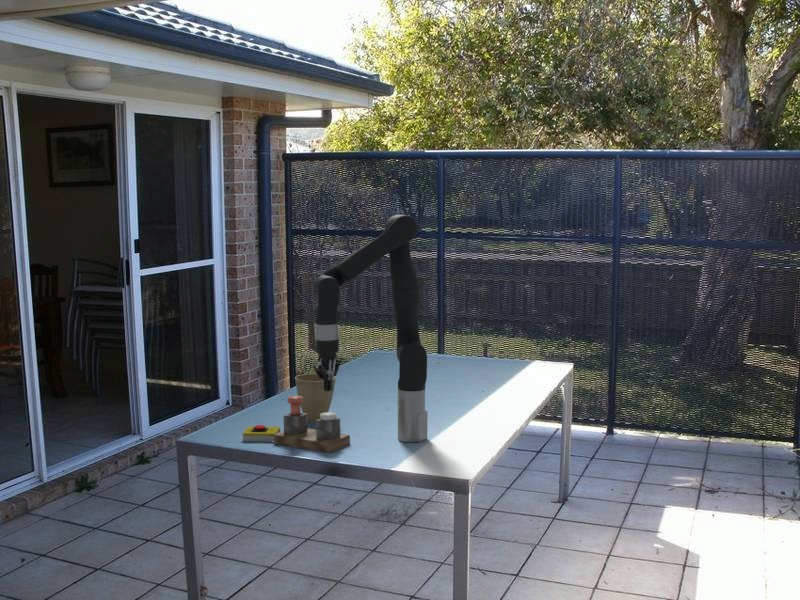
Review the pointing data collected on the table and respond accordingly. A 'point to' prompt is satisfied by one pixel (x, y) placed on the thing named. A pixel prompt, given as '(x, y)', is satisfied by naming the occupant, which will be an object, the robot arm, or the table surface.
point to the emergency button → (260, 433)
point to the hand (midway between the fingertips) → (328, 390)
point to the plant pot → (313, 395)
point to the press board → (311, 434)
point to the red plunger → (295, 404)
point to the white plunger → (328, 416)
